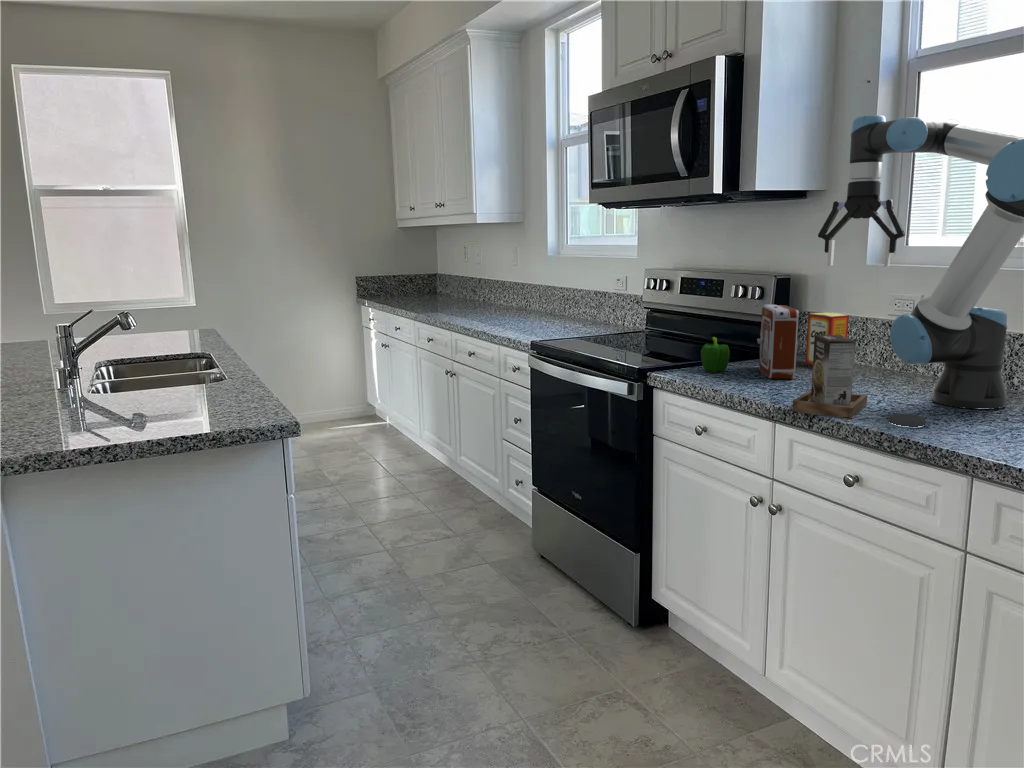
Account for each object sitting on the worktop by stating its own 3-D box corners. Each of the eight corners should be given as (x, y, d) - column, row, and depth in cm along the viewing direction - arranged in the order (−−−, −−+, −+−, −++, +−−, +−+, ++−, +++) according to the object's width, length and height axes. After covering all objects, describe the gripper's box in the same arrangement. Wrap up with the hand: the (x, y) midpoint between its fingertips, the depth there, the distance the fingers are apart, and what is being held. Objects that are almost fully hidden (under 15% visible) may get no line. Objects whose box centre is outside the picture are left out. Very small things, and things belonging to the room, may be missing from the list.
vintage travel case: (782, 367, 228) (785, 301, 224) (799, 380, 209) (804, 308, 205) (750, 367, 229) (754, 301, 225) (765, 380, 210) (769, 308, 206)
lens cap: (931, 424, 162) (931, 418, 162) (914, 431, 158) (915, 424, 158) (898, 418, 168) (899, 412, 168) (882, 424, 164) (882, 418, 164)
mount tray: (866, 405, 180) (867, 395, 179) (851, 418, 168) (852, 407, 168) (810, 398, 187) (811, 388, 187) (792, 411, 176) (792, 400, 175)
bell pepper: (727, 374, 219) (728, 340, 217) (698, 373, 222) (699, 339, 220) (730, 369, 227) (731, 336, 225) (702, 367, 230) (703, 335, 228)
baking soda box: (805, 363, 233) (808, 312, 229) (822, 362, 235) (825, 311, 231) (827, 369, 224) (831, 315, 221) (845, 367, 226) (848, 314, 223)
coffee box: (809, 400, 182) (813, 334, 179) (836, 400, 182) (841, 334, 179) (823, 409, 173) (827, 340, 170) (851, 409, 173) (856, 339, 170)
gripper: (922, 178, 185) (914, 265, 190) (816, 183, 200) (811, 264, 204) (917, 177, 179) (909, 267, 184) (808, 182, 194) (803, 265, 198)
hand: (858, 266), depth 194 cm, fingers open, 13 cm apart
